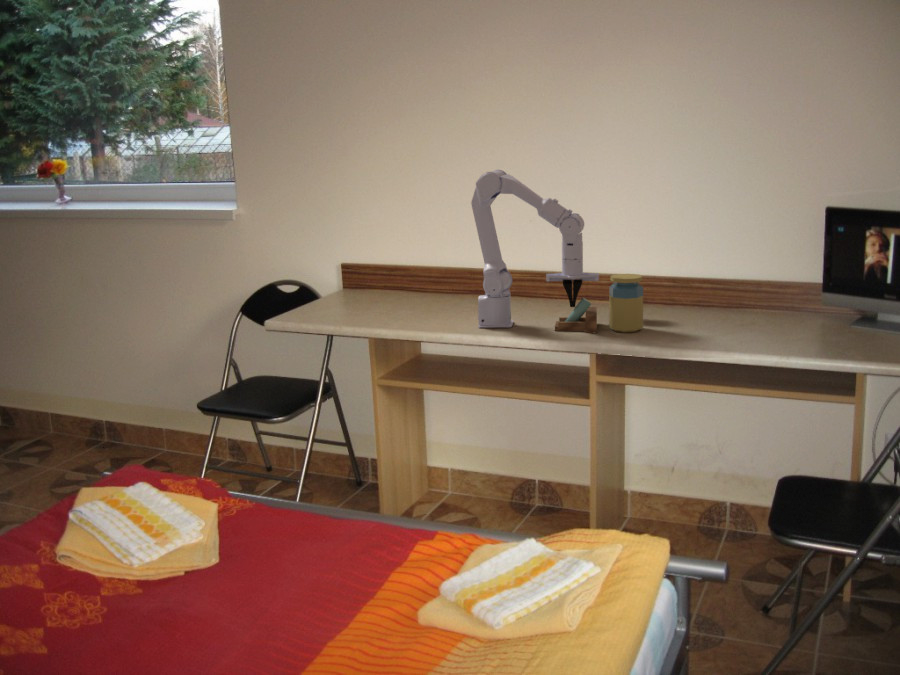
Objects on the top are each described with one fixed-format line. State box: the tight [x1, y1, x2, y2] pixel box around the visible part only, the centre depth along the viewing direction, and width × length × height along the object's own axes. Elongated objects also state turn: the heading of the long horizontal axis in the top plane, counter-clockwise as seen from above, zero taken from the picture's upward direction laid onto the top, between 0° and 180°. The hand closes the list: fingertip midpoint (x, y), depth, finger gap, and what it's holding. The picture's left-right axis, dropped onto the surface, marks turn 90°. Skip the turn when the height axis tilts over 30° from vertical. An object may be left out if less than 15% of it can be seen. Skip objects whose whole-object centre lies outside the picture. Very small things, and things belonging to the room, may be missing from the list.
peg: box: [565, 297, 592, 322], centre depth 262 cm, size 3×3×8 cm
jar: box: [608, 273, 644, 334], centre depth 257 cm, size 9×9×15 cm
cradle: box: [554, 306, 598, 334], centre depth 262 cm, size 12×12×5 cm
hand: (572, 306), depth 261 cm, fingers closed
